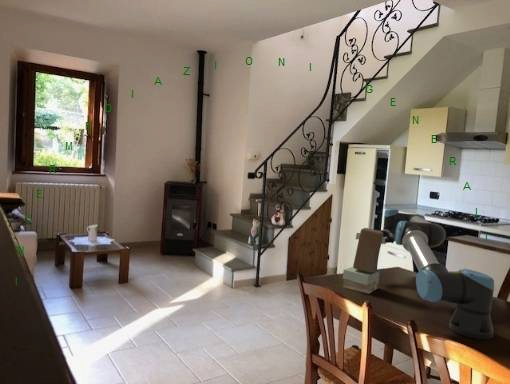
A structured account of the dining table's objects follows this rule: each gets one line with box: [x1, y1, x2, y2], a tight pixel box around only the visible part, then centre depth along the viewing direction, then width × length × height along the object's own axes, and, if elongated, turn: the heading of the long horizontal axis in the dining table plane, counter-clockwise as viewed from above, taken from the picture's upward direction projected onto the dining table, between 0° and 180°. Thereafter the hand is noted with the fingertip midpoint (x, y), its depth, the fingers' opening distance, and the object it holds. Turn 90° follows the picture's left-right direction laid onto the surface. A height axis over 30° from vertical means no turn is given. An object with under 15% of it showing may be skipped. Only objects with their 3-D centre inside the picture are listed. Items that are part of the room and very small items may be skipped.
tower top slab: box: [342, 266, 381, 285], centre depth 206 cm, size 13×13×4 cm
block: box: [352, 227, 383, 273], centre depth 205 cm, size 10×10×20 cm
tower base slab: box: [342, 279, 380, 295], centre depth 206 cm, size 13×13×4 cm
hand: (369, 238), depth 213 cm, fingers open, 13 cm apart
